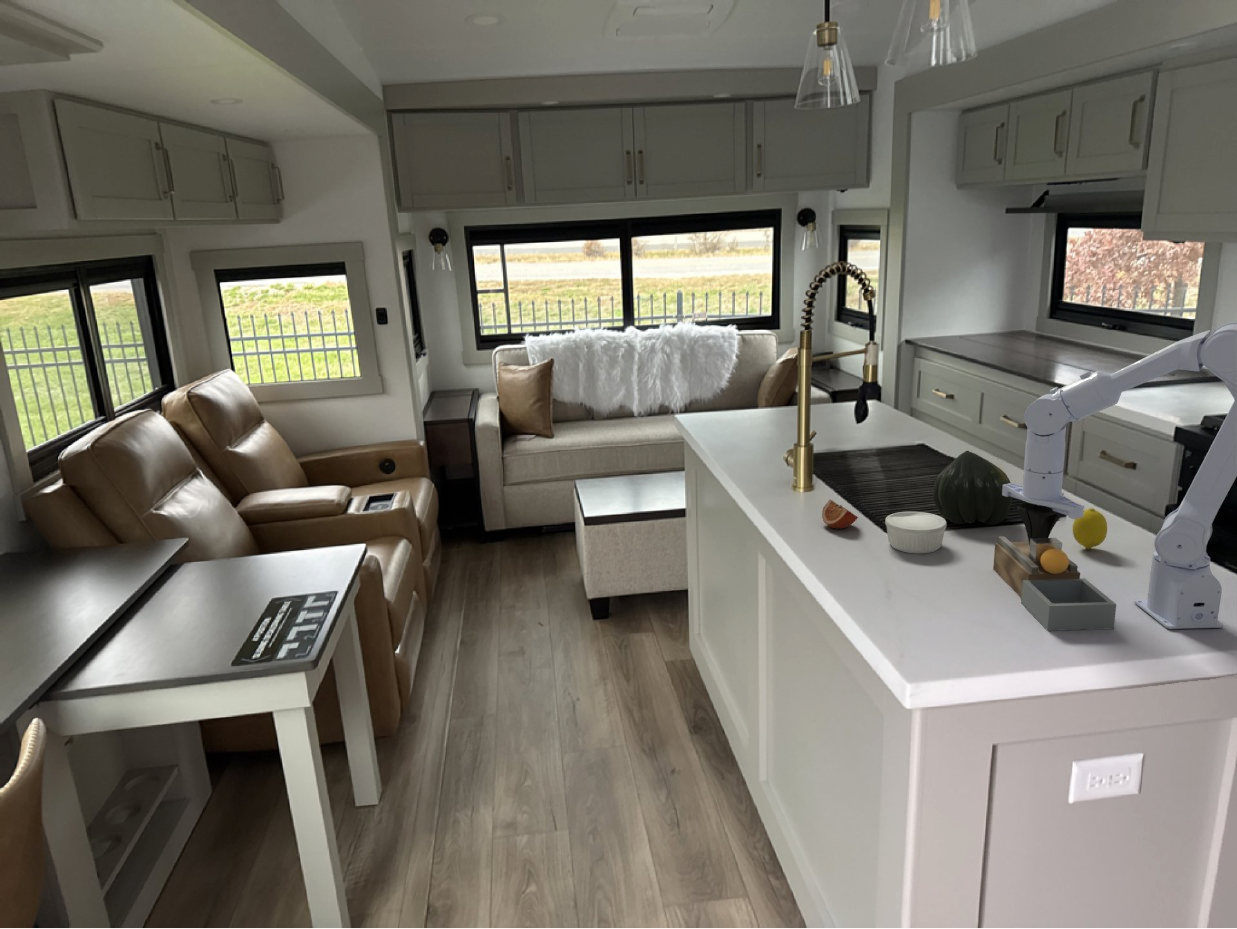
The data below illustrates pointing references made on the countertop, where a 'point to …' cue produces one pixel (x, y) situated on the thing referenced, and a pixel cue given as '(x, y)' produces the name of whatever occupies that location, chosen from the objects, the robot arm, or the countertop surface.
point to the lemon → (1090, 528)
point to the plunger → (1042, 548)
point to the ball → (1054, 561)
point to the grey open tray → (1068, 604)
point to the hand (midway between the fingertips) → (1037, 547)
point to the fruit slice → (837, 515)
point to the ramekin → (915, 531)
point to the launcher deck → (1023, 565)
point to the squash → (972, 491)
